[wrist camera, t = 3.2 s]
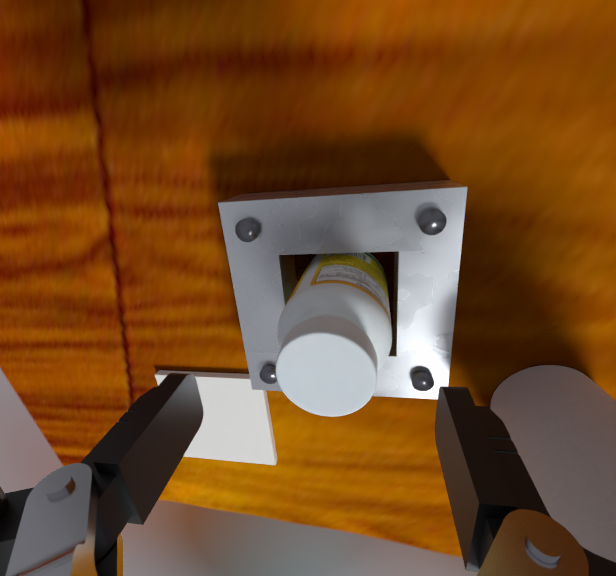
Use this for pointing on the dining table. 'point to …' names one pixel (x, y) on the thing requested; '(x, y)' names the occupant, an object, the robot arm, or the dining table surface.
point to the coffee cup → (566, 448)
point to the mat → (231, 419)
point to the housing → (353, 239)
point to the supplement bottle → (335, 334)
